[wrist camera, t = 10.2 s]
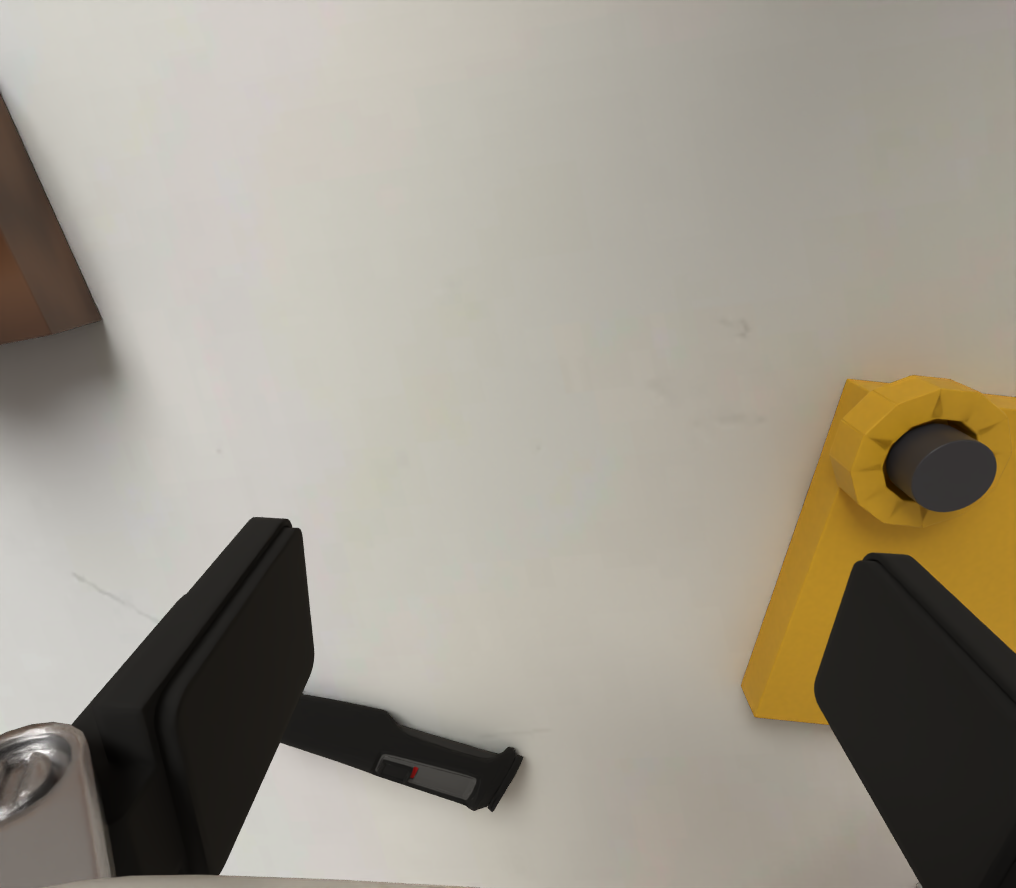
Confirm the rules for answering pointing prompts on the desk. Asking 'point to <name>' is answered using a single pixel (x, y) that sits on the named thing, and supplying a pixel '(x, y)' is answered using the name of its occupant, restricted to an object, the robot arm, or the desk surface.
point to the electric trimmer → (400, 752)
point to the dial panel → (34, 253)
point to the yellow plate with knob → (885, 532)
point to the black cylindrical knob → (941, 467)
